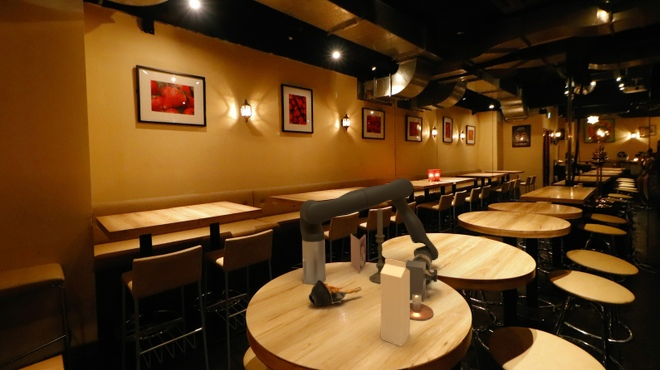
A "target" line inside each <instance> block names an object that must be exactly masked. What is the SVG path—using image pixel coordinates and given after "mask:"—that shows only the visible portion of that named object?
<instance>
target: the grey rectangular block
mask: <svg viewBox="0 0 660 370" xmlns="http://www.w3.org/2000/svg"><path fill="white" fill-rule="evenodd" d="M412 260H413V259H412ZM412 260H409V259H407V261H405V263H406V268H407V269H408V270H410V300H412V294H413V293H419V294H421V303H423V302H424V301H425V298H426V292H427V291H426V287H427V285H426V262H421V261H412Z"/></svg>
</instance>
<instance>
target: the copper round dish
mask: <svg viewBox="0 0 660 370" xmlns="http://www.w3.org/2000/svg"><path fill="white" fill-rule="evenodd" d="M433 317H434V310H433V309H432V308H431V307H430V306H429V305H426V304H424V303H422V301H421V294H419V293H413V294H412V301H411V302H410V320H413V321H418V322H420V321H421V322H423V321H428V320H431V319H432V318H433Z"/></svg>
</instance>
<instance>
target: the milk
mask: <svg viewBox="0 0 660 370" xmlns="http://www.w3.org/2000/svg"><path fill="white" fill-rule="evenodd" d="M410 303H411V301H410V270H408V269H407V268H406V261H403V260H401V261H400V260H396V259H392V258H391V259H390V258H385V260H384V267H383V269H382V271H381V284H380V339H381V340H382V341H385V342H388V343H391V344H393V345H395V346H398V347H403V345H404V344H405V343H406V342H407V341H408V339H409V338H410V336H411V335H410V334H411V331H410V330H411V324H410V323H411V319H410Z"/></svg>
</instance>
